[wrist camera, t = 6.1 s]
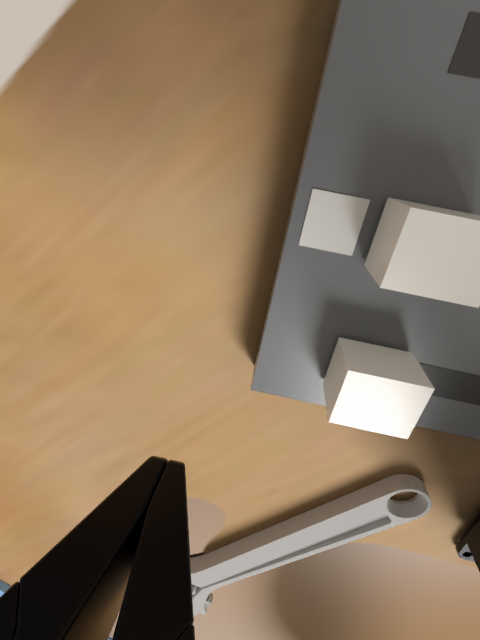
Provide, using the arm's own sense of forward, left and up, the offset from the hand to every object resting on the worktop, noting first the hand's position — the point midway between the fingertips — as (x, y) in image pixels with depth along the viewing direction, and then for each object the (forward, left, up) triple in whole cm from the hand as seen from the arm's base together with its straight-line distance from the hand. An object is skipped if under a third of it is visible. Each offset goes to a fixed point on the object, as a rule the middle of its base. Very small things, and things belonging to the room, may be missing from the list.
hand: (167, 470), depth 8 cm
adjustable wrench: (-5, +18, -10) cm, 21 cm away
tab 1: (-6, -5, -7) cm, 11 cm away
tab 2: (-6, 0, -7) cm, 9 cm away
